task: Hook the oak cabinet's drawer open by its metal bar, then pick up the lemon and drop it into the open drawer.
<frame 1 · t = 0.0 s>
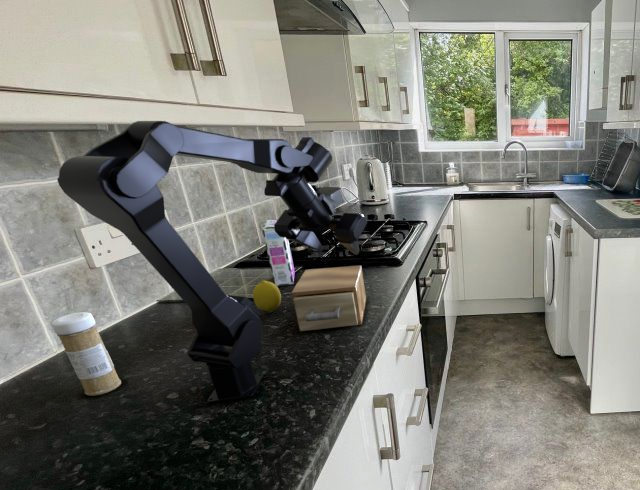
hand: (339, 251, 91), 15 cm above the worktop, tool tilted 35°, fingers open, 9 cm apart
sprinkles bottle: (104, 389, 69), on the worktop
drawer: (329, 304, 90), point 5 cm above the worktop, slide at 0.5 cm
candy bar box: (286, 280, 117), on the worktop
cabinet: (335, 314, 95), on the worktop
lemon: (271, 312, 97), on the worktop
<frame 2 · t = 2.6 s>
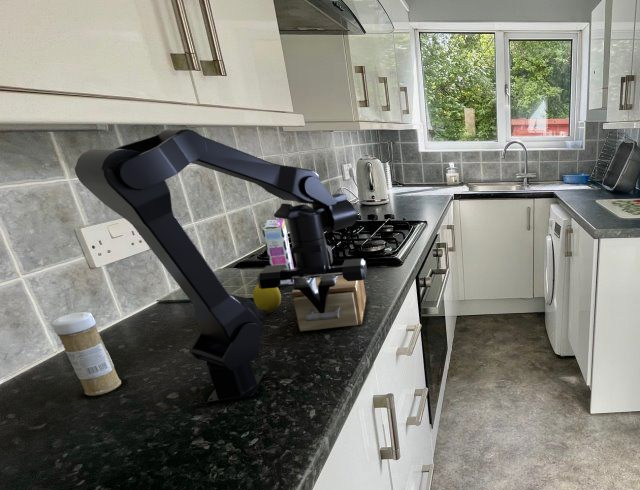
hand: (322, 312, 83), 6 cm above the worktop, tool pointing down, fingers closed, pressing on drawer
drawer: (329, 304, 90), point 5 cm above the worktop, slide at 0.5 cm, touching gripper
everything else where it was.
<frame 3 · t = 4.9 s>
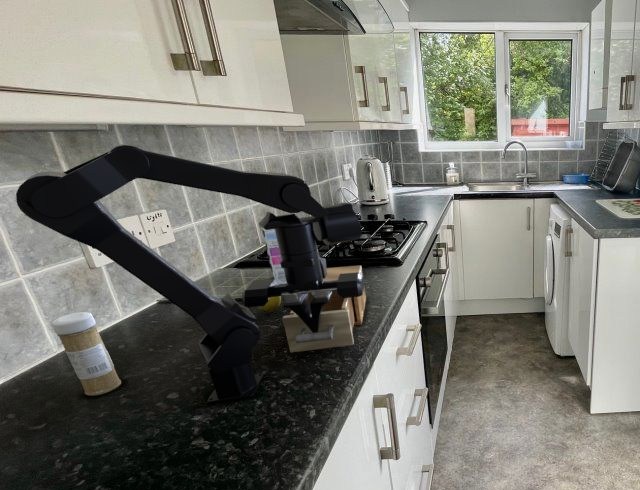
hand: (315, 331, 75), 6 cm above the worktop, tool pointing down, fingers closed
drawer: (322, 321, 82), point 5 cm above the worktop, slide at 9.4 cm
everything else where it was.
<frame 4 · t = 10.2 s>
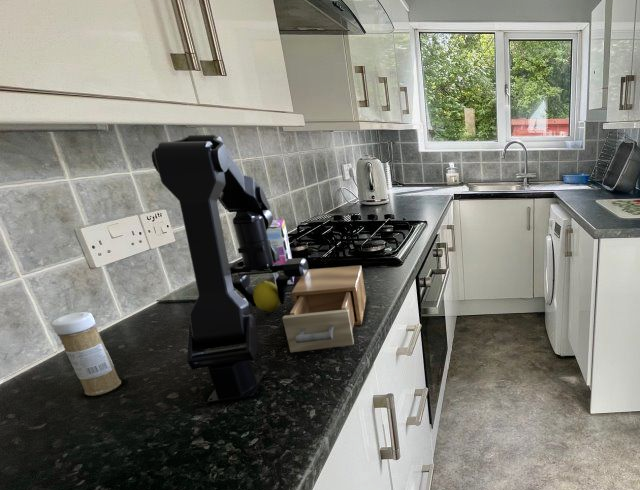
hand: (269, 304, 96), 2 cm above the worktop, tool pointing down, fingers closed on lemon, 5 cm apart
lemon: (271, 312, 97), on the worktop, touching gripper
everything else where it was.
when the fingers open (8 cm above the worktop, at t = 16.2 s): lemon stays where it is, resting on drawer.
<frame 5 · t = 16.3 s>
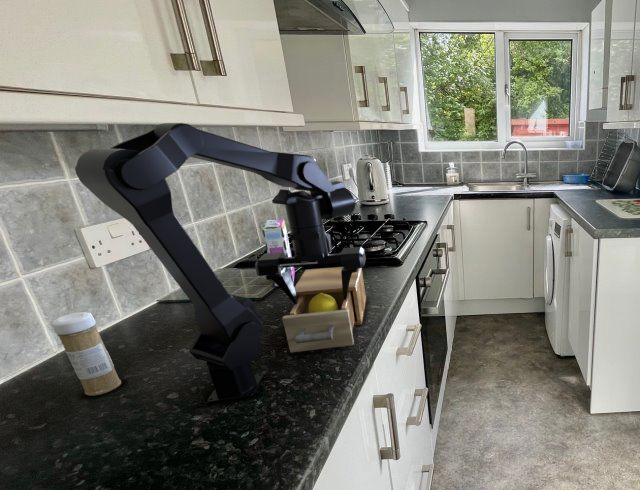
hand: (321, 301, 82), 8 cm above the worktop, tool pointing down, fingers open, 9 cm apart
drawer: (322, 321, 82), point 5 cm above the worktop, slide at 9.4 cm, touching lemon
lemon: (326, 329, 84), point 2 cm above the worktop, touching drawer
everything else where it was.
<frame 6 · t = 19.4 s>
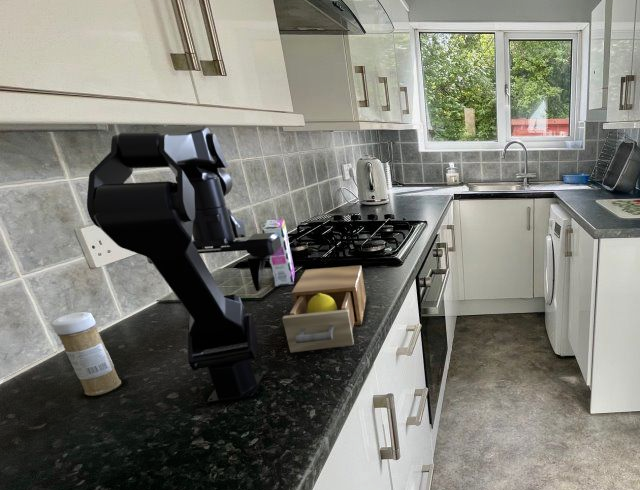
hand: (230, 292, 74), 13 cm above the worktop, tool pointing down, fingers open, 9 cm apart
nothing on the worktop moved.
at the end: drawer slide at 9.4 cm; lemon inside the target area in the drawer (6.1 cm from its centre), point 1.8 cm above the cabinet's base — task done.
